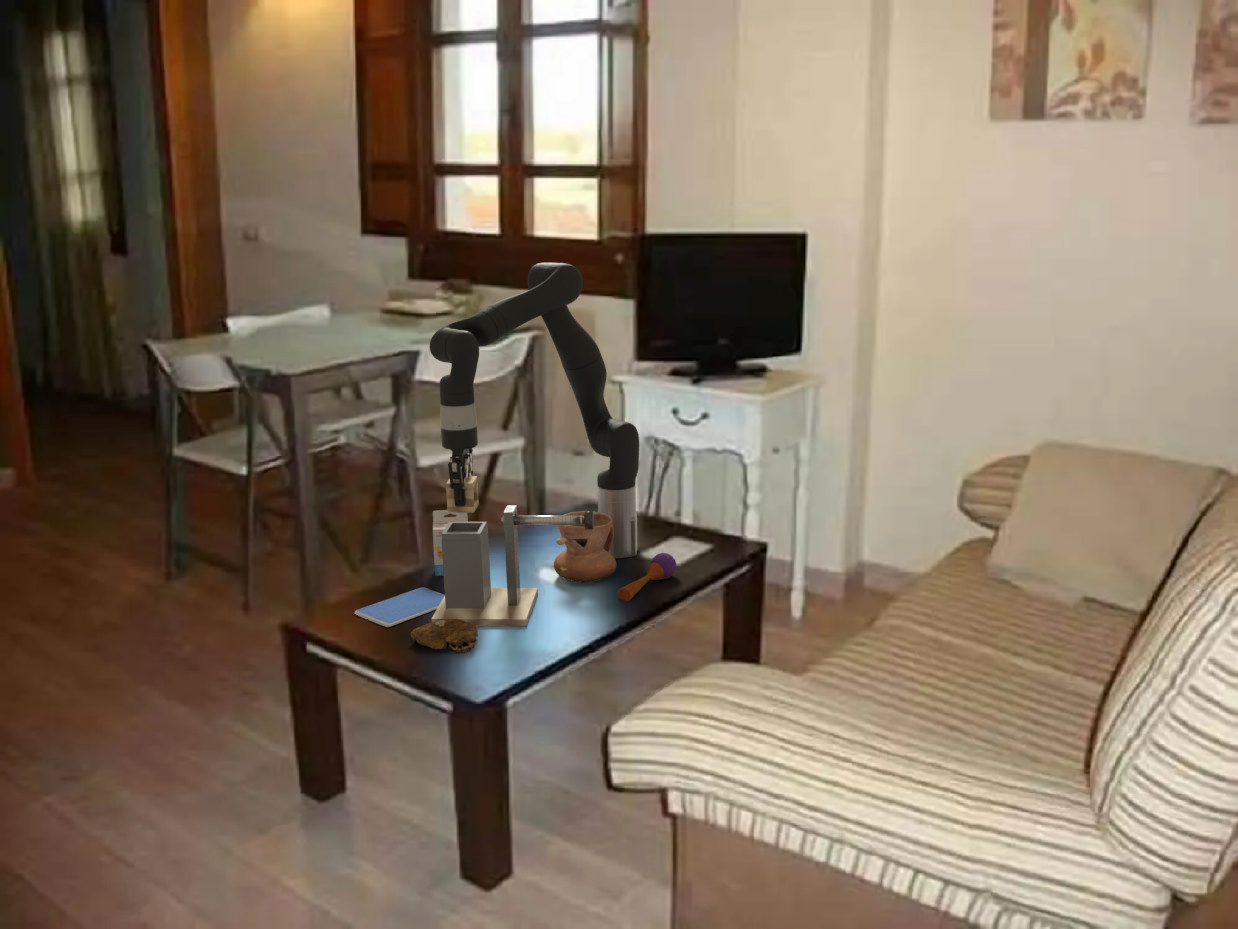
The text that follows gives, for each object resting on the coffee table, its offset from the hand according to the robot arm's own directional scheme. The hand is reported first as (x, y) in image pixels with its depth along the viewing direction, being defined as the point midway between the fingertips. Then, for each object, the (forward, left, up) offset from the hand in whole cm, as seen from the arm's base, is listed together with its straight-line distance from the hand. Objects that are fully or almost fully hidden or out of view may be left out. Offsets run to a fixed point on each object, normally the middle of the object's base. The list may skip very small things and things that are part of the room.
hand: (463, 501), depth 253 cm
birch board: (-4, +1, -24) cm, 24 cm away
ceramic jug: (-24, -20, -24) cm, 40 cm away
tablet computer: (+14, 0, -25) cm, 29 cm away
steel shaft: (-18, 0, -6) cm, 19 cm away
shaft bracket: (-10, 0, -23) cm, 25 cm away
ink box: (+8, -22, -24) cm, 34 cm away
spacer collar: (0, 0, -2) cm, 2 cm away
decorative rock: (0, +19, -25) cm, 31 cm away
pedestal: (0, 0, -23) cm, 23 cm away
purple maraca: (-38, -13, -25) cm, 47 cm away
